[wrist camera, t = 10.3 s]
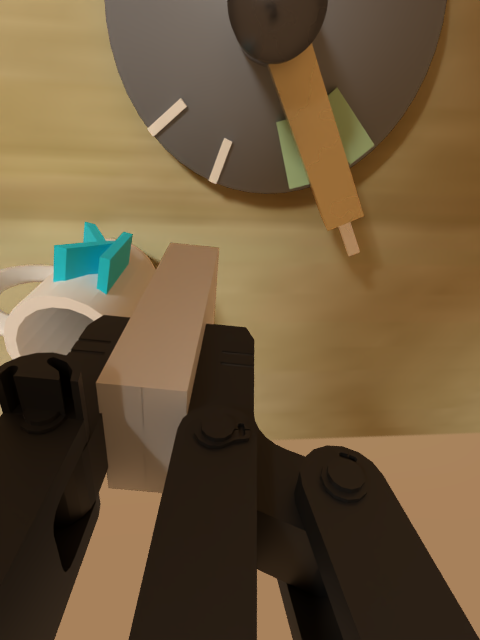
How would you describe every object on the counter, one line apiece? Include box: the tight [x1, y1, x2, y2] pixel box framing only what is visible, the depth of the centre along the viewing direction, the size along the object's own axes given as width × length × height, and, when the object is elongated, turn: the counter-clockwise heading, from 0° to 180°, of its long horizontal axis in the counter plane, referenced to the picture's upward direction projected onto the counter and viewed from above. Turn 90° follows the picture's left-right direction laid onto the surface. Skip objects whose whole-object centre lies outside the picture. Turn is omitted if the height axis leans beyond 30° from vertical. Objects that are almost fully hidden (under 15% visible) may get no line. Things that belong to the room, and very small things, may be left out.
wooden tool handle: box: [227, 0, 364, 256], centre depth 23 cm, size 17×5×6 cm, turn 25°
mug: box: [0, 222, 156, 360], centre depth 28 cm, size 12×9×12 cm
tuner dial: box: [105, 0, 447, 194], centre depth 24 cm, size 20×20×2 cm
